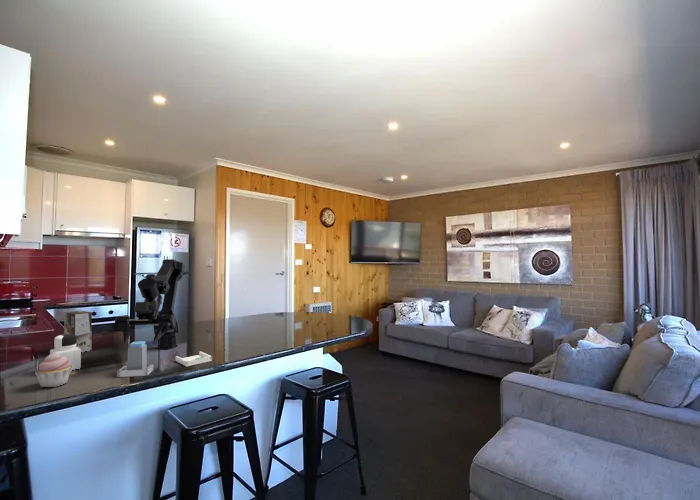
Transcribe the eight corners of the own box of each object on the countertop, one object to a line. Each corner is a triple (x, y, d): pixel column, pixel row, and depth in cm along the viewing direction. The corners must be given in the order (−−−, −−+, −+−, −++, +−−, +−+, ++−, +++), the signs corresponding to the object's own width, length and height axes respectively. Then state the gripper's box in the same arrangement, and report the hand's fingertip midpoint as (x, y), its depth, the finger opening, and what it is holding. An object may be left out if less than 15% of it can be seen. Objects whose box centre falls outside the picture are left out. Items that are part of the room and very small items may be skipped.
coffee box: (92, 350, 149) (92, 311, 150) (74, 354, 144) (75, 314, 144) (80, 347, 154) (80, 310, 154) (62, 351, 148) (63, 312, 148)
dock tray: (175, 360, 136) (175, 355, 136) (200, 355, 143) (200, 350, 143) (186, 366, 129) (186, 360, 129) (211, 360, 136) (212, 355, 136)
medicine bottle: (74, 365, 130) (75, 331, 130) (80, 369, 125) (81, 334, 125) (49, 370, 124) (50, 335, 124) (54, 374, 120) (55, 338, 120)
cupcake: (81, 379, 115) (81, 348, 115) (55, 390, 106) (56, 356, 106) (53, 379, 115) (53, 347, 115) (25, 390, 106) (25, 356, 106)
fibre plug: (132, 370, 124) (133, 341, 124) (146, 369, 125) (147, 340, 125) (127, 374, 120) (127, 344, 120) (142, 373, 121) (142, 344, 121)
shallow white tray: (124, 371, 123) (124, 365, 123) (153, 369, 125) (153, 364, 125) (116, 377, 117) (116, 371, 117) (147, 375, 119) (147, 369, 119)
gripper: (117, 293, 128) (102, 330, 117) (173, 292, 132) (164, 328, 121) (125, 312, 136) (112, 349, 125) (179, 311, 140) (170, 346, 128)
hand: (139, 343), depth 125 cm, fingers open, 9 cm apart
